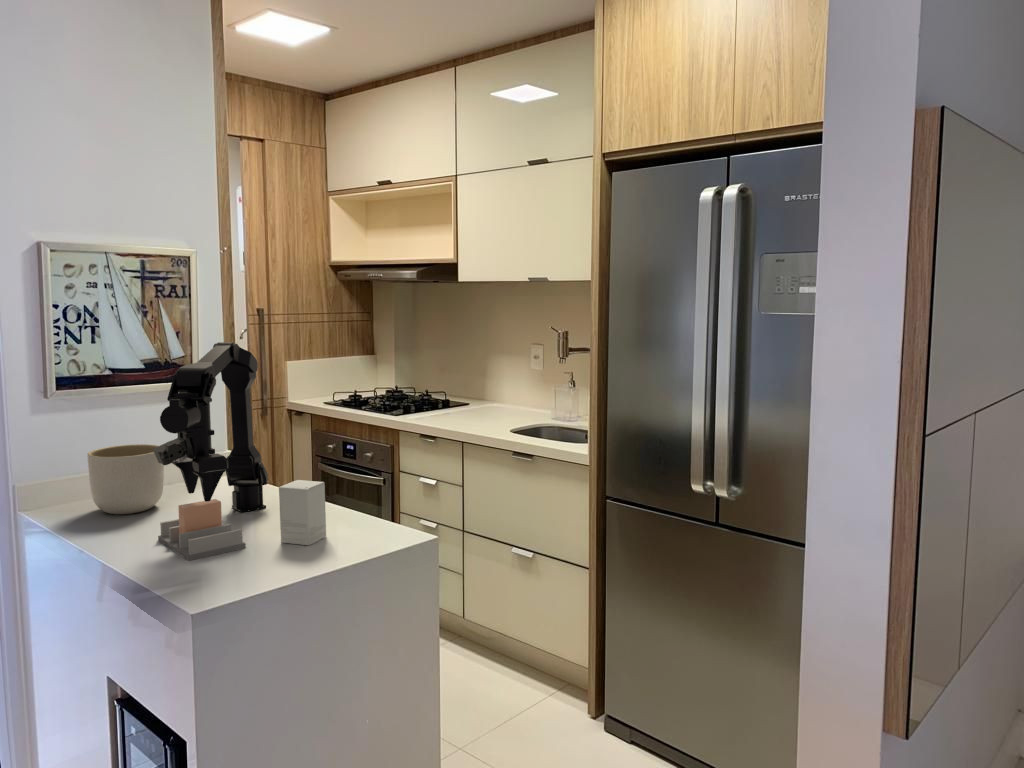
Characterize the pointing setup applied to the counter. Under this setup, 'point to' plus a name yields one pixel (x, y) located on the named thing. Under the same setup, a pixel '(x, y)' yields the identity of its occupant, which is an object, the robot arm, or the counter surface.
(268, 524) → the counter surface
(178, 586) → the counter surface
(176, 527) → the dish rack
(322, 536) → the supplement box
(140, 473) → the planter
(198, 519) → the tall clay brick
